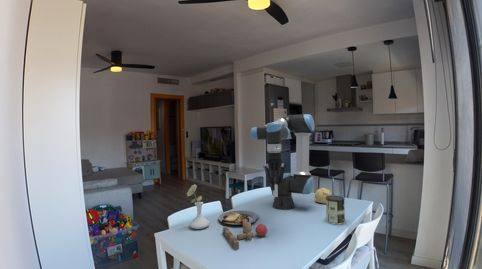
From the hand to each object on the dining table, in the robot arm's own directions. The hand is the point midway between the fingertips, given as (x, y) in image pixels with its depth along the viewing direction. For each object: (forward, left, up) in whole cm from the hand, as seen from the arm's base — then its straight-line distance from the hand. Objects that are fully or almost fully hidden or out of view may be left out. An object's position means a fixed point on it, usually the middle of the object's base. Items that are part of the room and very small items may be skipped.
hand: (275, 196), depth 135 cm
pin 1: (-2, -17, -19) cm, 26 cm away
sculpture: (-34, +57, -20) cm, 69 cm away
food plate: (-26, -12, -20) cm, 35 cm away
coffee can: (0, +39, -20) cm, 44 cm away
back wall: (0, -26, -19) cm, 32 cm away
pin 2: (+3, -17, -19) cm, 26 cm away
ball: (+1, -9, -16) cm, 19 cm away
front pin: (0, -13, -18) cm, 23 cm away
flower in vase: (-24, -37, -20) cm, 48 cm away
